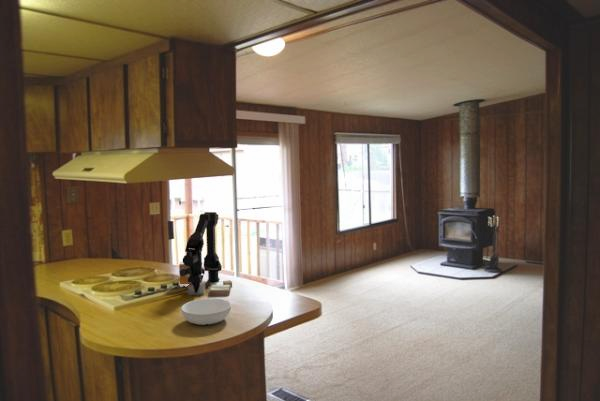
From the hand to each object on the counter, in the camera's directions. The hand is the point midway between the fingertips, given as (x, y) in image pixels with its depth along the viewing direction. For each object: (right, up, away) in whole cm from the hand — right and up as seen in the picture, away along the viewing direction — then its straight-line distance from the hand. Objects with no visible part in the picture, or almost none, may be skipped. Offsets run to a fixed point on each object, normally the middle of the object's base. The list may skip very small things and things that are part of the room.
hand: (197, 291), depth 241 cm
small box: (-8, 0, +14) cm, 17 cm away
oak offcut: (+14, 0, +12) cm, 19 cm away
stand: (+12, -1, 0) cm, 12 cm away
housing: (0, -1, 0) cm, 1 cm away
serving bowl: (+14, -5, -42) cm, 44 cm away
